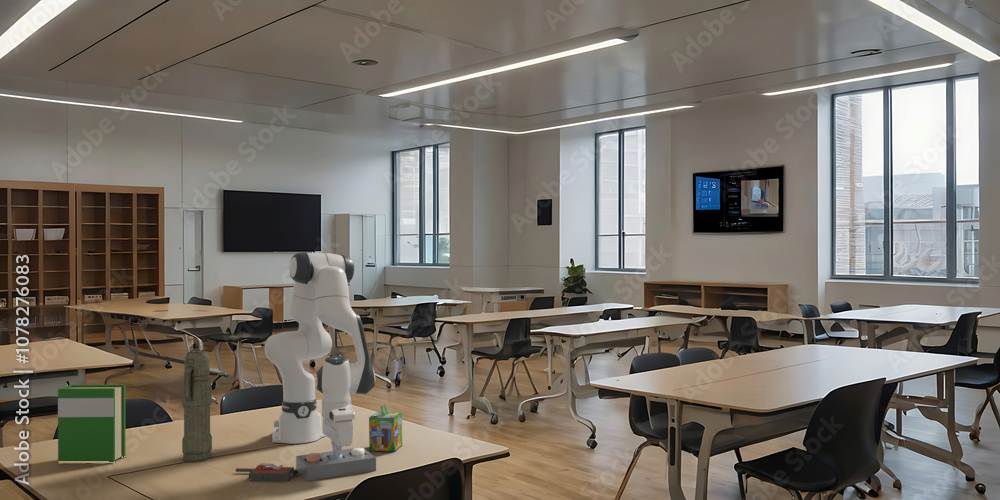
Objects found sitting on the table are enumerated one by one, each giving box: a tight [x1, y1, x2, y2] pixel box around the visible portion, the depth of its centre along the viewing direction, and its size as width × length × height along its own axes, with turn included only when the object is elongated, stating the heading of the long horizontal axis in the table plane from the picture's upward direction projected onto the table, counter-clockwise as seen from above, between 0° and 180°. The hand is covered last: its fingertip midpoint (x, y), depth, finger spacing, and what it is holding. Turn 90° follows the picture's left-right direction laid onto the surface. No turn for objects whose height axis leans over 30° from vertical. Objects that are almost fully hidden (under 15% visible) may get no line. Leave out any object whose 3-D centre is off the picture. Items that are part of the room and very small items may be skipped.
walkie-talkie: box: [235, 462, 299, 483], centre depth 217 cm, size 9×4×20 cm
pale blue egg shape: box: [329, 454, 343, 460], centre depth 224 cm, size 4×4×3 cm
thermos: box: [181, 349, 213, 463], centre depth 237 cm, size 9×12×35 cm
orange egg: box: [305, 452, 320, 463], centre depth 220 cm, size 4×4×3 cm
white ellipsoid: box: [351, 447, 365, 457], centre depth 227 cm, size 4×4×3 cm
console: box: [295, 446, 377, 482], centre depth 224 cm, size 14×21×4 cm, turn 119°
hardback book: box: [57, 383, 127, 462], centre depth 235 cm, size 18×7×24 cm, turn 90°
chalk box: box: [368, 403, 403, 453], centre depth 248 cm, size 9×9×15 cm
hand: (336, 454), depth 224 cm, fingers closed, pressing on pale blue egg shape
